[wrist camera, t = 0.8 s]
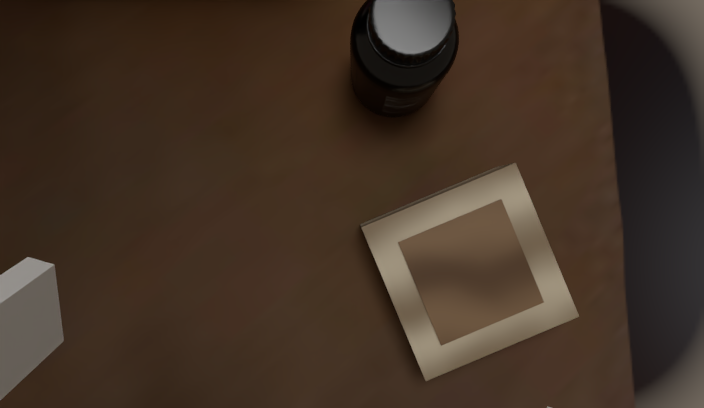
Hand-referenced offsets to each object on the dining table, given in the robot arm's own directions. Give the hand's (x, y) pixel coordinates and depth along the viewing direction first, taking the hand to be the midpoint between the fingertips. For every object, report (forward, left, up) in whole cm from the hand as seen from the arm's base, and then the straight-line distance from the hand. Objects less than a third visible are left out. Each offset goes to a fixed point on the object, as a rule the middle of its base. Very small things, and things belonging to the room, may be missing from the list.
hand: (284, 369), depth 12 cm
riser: (+5, +9, -25) cm, 27 cm away
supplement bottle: (-11, +10, -25) cm, 29 cm away
